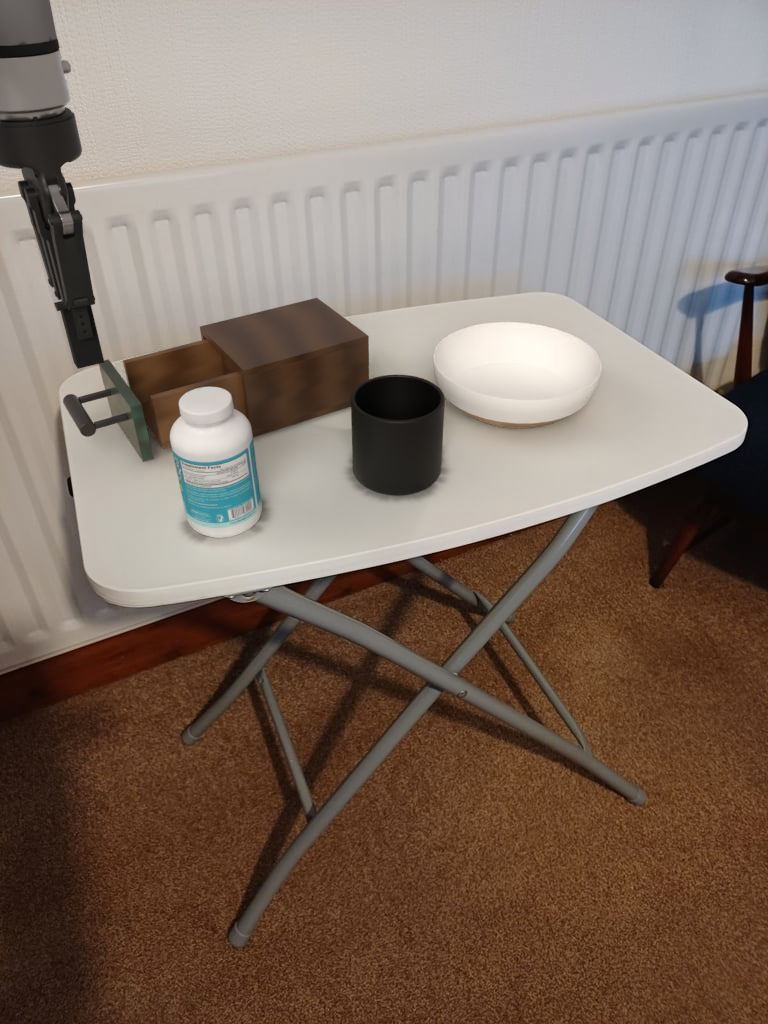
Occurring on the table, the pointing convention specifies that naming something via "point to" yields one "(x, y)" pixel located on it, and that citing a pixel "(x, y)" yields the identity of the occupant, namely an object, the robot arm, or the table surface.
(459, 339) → the bowl
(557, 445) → the table surface
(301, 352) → the cabinet
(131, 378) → the drawer
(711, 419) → the table surface
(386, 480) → the mug
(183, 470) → the pill bottle
